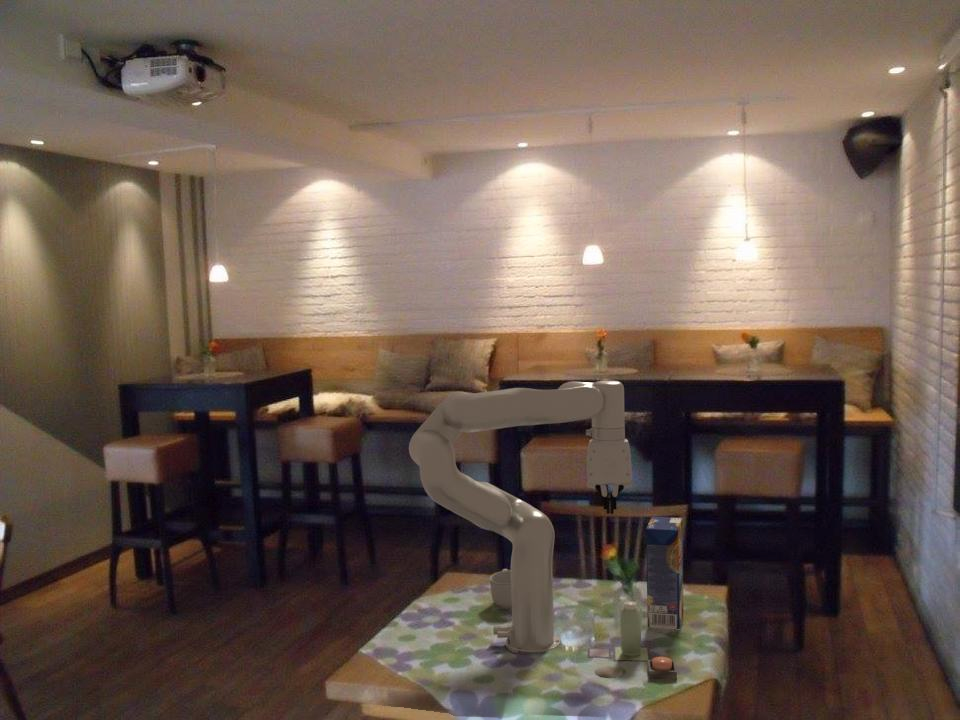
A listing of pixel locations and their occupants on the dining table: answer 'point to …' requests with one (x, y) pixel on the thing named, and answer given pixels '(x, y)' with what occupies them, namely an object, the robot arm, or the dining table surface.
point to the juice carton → (664, 572)
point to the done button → (662, 664)
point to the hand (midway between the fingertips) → (610, 512)
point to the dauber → (630, 629)
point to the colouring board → (644, 656)
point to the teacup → (501, 588)
